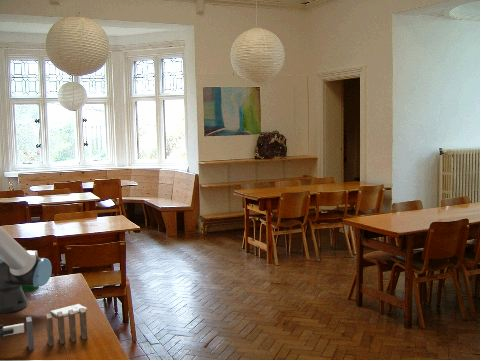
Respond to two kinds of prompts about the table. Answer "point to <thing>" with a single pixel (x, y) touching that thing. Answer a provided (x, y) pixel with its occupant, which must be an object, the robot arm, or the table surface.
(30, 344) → the black domino
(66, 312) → the external hard drive
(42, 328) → the table surface
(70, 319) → the walnut domino
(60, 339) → the walnut domino
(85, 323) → the walnut domino
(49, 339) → the walnut domino
